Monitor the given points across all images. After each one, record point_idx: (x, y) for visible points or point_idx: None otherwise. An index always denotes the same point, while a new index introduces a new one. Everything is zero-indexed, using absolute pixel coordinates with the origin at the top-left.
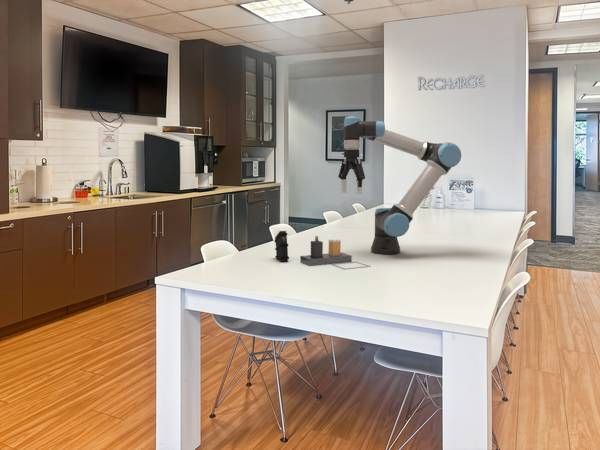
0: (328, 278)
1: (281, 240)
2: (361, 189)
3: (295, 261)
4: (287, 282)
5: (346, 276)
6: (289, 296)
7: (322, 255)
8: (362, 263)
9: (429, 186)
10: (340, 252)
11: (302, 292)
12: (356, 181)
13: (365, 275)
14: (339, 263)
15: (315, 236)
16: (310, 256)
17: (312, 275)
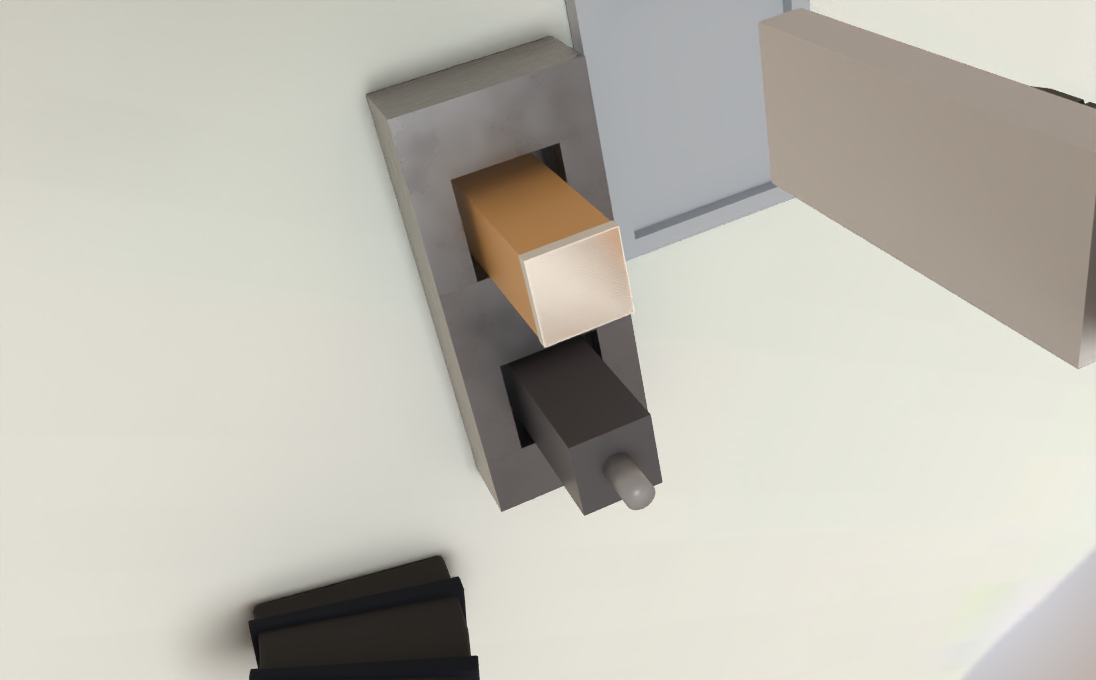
0: (926, 317)
1: None
2: (889, 47)
3: (334, 506)
4: (913, 529)
5: None
6: None
7: (593, 350)
8: None
9: None
10: (392, 133)
11: (1093, 462)
12: (1061, 340)
13: (958, 52)
14: (619, 180)
15: (642, 506)
16: (517, 434)
17: (824, 402)
